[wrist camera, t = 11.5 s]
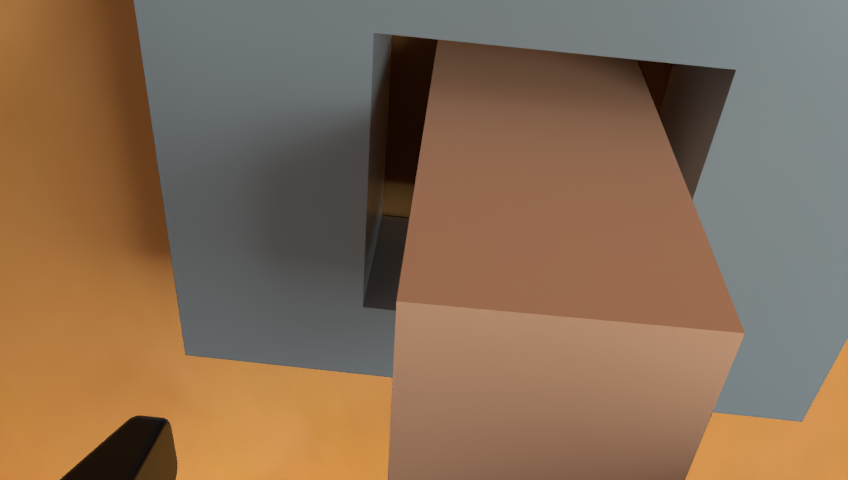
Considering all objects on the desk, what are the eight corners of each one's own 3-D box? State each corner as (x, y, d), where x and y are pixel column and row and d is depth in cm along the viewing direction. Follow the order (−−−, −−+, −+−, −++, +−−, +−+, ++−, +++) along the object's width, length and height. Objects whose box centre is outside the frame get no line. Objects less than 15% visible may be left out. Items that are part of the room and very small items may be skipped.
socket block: (937, -85, 14) (1048, -30, 11) (757, 318, 20) (802, 421, 17) (190, -159, 14) (116, -123, 12) (228, 262, 20) (185, 354, 17)
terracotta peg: (629, 42, 16) (744, 332, 9) (594, 202, 18) (660, 537, 11) (440, 26, 16) (396, 300, 9) (428, 187, 18) (386, 509, 11)
